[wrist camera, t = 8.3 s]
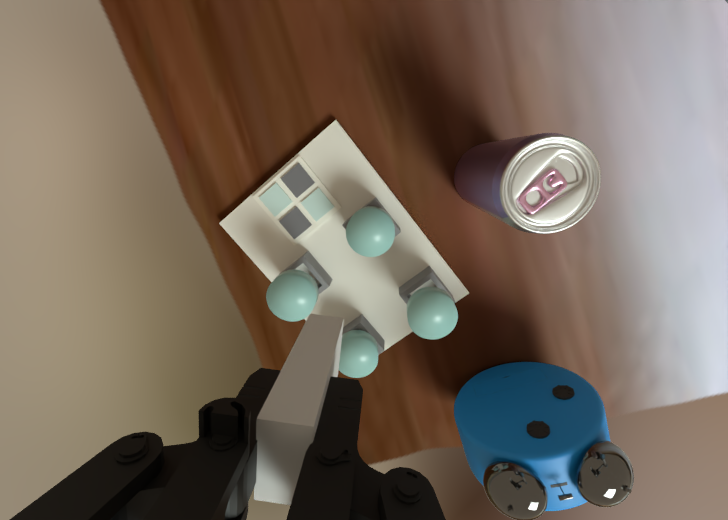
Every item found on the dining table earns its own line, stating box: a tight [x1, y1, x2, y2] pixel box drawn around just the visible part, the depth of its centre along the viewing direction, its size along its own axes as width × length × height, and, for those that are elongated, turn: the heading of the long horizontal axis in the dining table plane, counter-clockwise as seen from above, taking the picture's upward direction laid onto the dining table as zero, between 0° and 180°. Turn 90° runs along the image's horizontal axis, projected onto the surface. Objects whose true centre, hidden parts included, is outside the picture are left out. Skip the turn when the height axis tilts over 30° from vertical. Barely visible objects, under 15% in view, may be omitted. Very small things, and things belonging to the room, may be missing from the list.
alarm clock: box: [454, 362, 634, 520], centre depth 34 cm, size 13×6×15 cm, turn 108°
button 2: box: [266, 269, 319, 321], centre depth 34 cm, size 4×4×4 cm
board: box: [219, 120, 469, 355], centre depth 37 cm, size 16×22×3 cm
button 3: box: [407, 287, 458, 339], centre depth 33 cm, size 4×4×4 cm
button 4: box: [339, 330, 378, 378], centre depth 37 cm, size 4×4×4 cm
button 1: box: [346, 206, 395, 257], centre depth 34 cm, size 4×4×4 cm
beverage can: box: [454, 133, 601, 234], centre depth 28 cm, size 6×6×15 cm
